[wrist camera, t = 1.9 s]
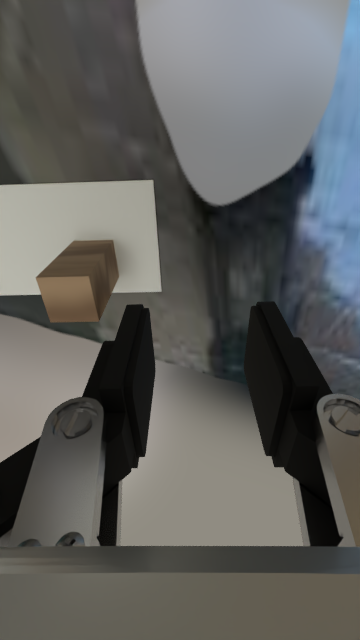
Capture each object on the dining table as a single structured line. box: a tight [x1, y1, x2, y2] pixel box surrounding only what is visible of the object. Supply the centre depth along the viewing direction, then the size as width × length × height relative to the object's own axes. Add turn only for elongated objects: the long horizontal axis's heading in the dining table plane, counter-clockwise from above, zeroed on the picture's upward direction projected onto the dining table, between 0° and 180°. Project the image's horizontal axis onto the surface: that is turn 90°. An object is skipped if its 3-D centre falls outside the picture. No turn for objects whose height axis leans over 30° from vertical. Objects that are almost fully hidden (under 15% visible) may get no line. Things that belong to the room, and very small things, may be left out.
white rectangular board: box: [0, 180, 162, 295], centre depth 36 cm, size 14×24×1 cm, turn 92°
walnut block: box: [36, 239, 119, 322], centre depth 32 cm, size 5×5×11 cm
